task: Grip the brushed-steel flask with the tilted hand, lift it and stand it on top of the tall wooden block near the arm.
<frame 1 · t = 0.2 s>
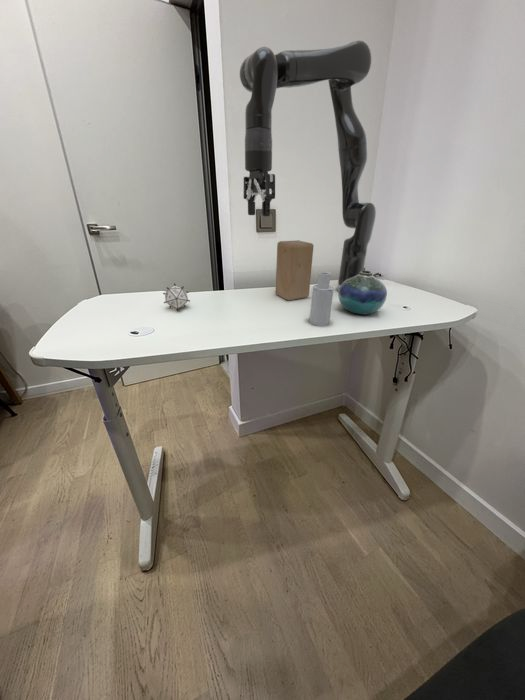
hand: (258, 215, 87), 29 cm above the table, tool pointing down, fingers open, 8 cm apart
grey spiked polyhedron: (177, 309, 98), on the table
wooden block: (291, 296, 114), on the table
flask: (319, 322, 90), on the table
vase: (358, 311, 100), on the table
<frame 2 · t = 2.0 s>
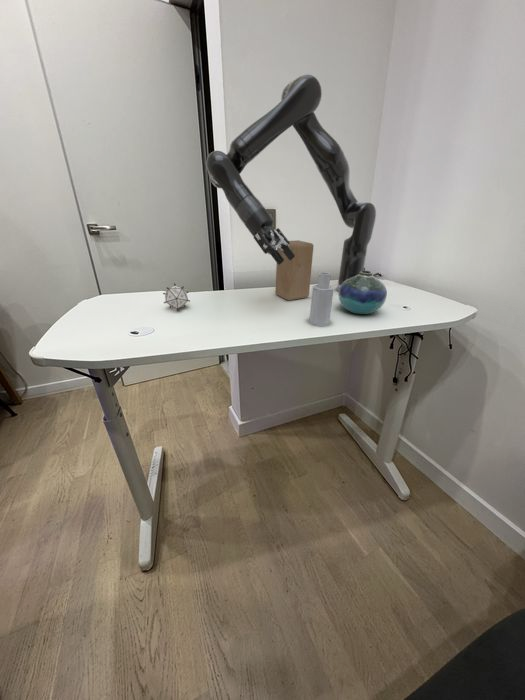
hand: (287, 260, 86), 17 cm above the table, tool tilted 45°, fingers open, 8 cm apart
nothing on the table moved.
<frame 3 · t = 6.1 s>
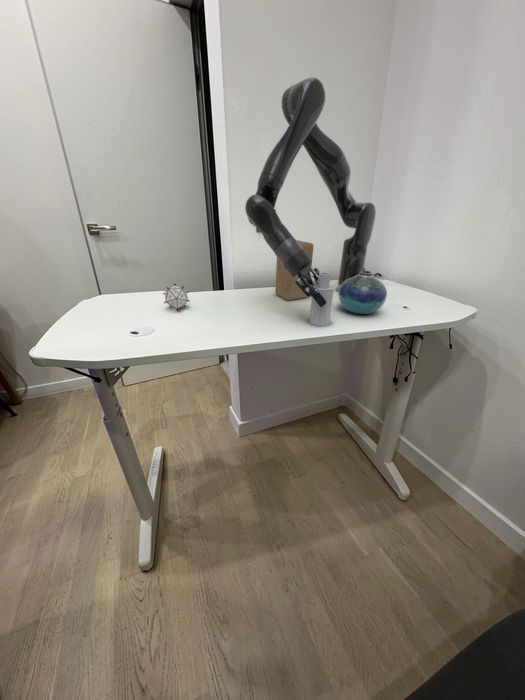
hand: (327, 301, 86), 7 cm above the table, tool tilted 45°, fingers closed on flask, 6 cm apart
flask: (319, 322, 90), on the table, touching gripper
everything else where it was.
when the fingers open (27 cm above the table, at t = 18.7 s): flask stays where it is, resting on wooden block.
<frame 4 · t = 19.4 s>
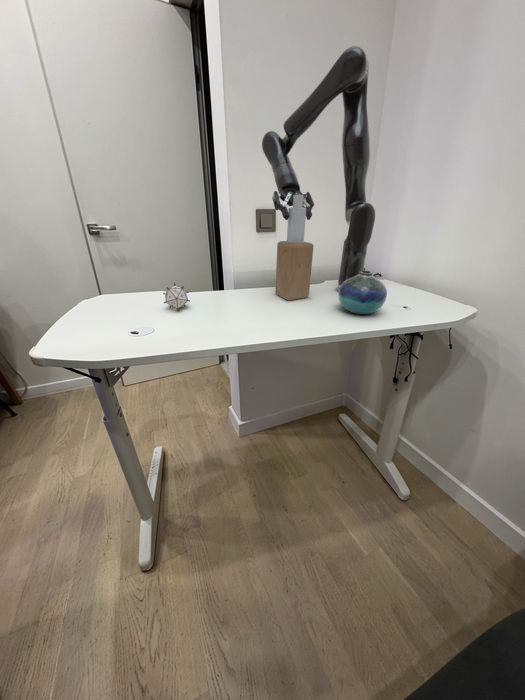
hand: (298, 218, 100), 28 cm above the table, tool tilted 45°, fingers open, 8 cm apart
wooden block: (291, 296, 114), on the table, touching flask
flask: (295, 242, 104), point 20 cm above the table, touching wooden block
everything else where it was.
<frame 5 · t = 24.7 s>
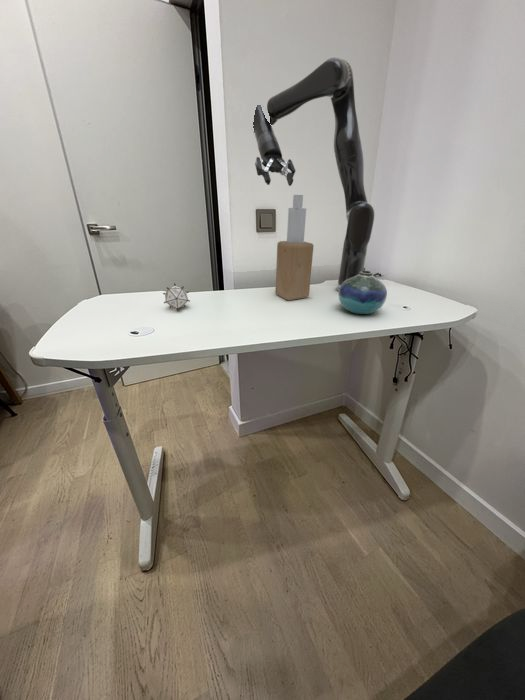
hand: (280, 183, 104), 39 cm above the table, tool tilted 45°, fingers open, 8 cm apart
nothing on the table moved.
at the end: flask 0.1 cm off-centre on the wooden block, point 20.2 cm above the wooden block's base; flask tilted 0° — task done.
